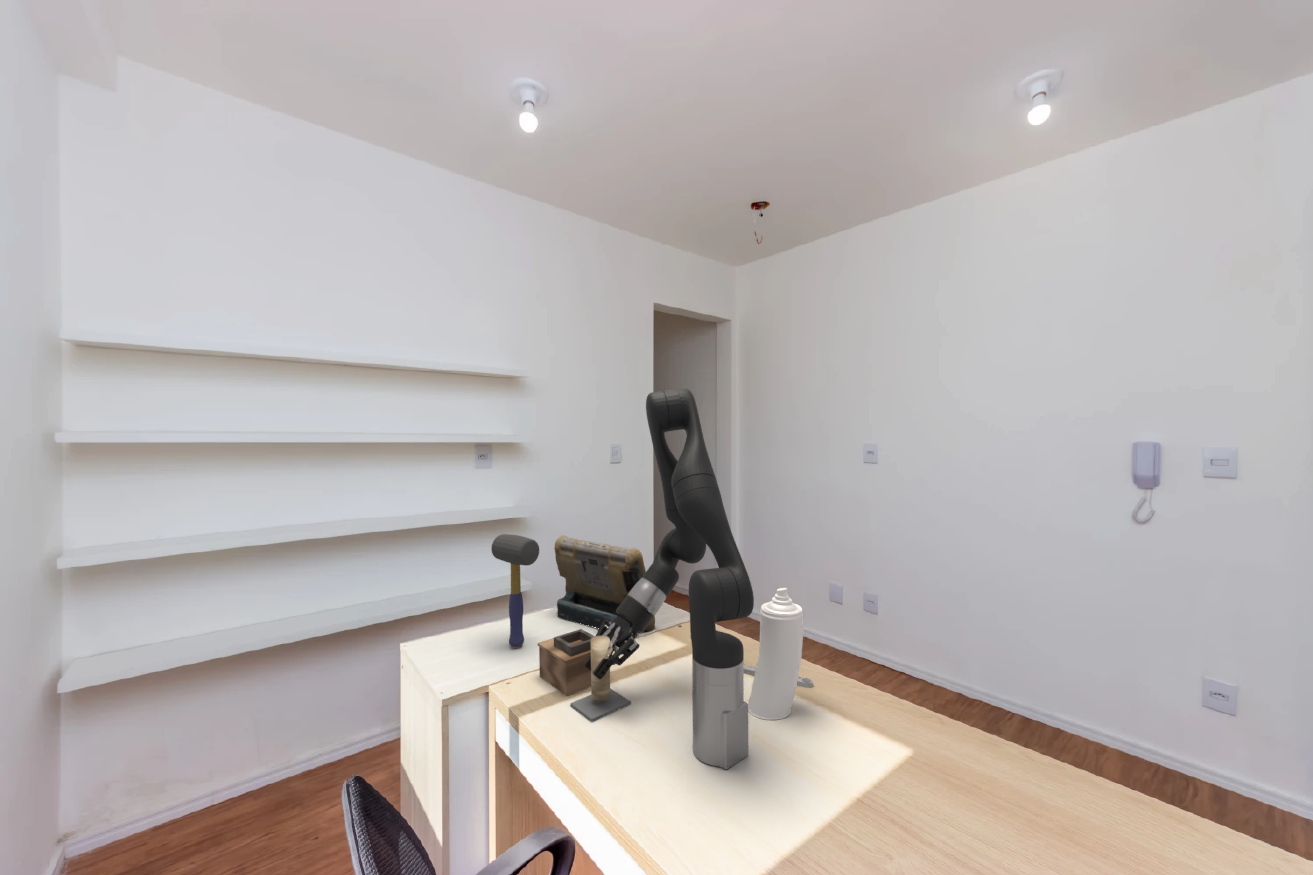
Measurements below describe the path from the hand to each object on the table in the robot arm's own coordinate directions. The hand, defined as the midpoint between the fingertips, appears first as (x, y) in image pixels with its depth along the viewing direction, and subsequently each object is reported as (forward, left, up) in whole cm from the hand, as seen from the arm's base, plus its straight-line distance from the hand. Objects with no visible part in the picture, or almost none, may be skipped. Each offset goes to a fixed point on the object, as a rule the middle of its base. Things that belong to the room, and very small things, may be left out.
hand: (592, 671), depth 110 cm
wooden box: (+14, -4, -8) cm, 16 cm away
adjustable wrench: (-14, -37, -8) cm, 40 cm away
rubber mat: (0, -2, -8) cm, 8 cm away
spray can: (-25, -29, -8) cm, 39 cm away
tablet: (+37, -30, -8) cm, 48 cm away
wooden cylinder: (0, -2, -6) cm, 6 cm away
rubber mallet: (+39, -2, -8) cm, 39 cm away
